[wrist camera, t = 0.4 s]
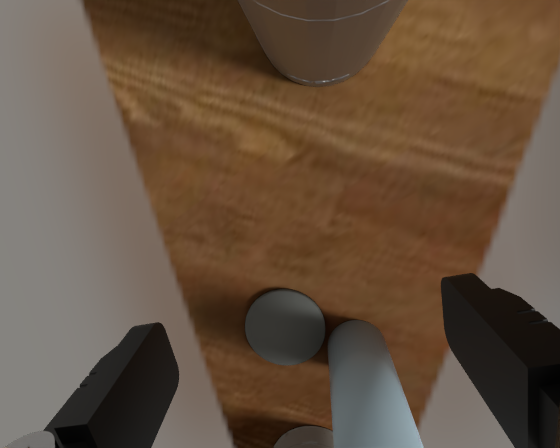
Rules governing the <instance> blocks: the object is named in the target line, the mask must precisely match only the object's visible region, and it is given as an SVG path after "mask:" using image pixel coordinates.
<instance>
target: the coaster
mask: <svg viewBox="0 0 560 448" xmlns="http://www.w3.org/2000/svg"><path fill="white" fill-rule="evenodd" d="M245 333H246V337H247V340H248V342H249V344H250V346H251V347H252V348H253V350H254V351H255V352H256V353H257V354H258V355H259V356H261V357H262V358H264V359H265V360H267V361H269V362H272V363H275V364H279V365H295V364H299V363H302V362H305V361H307V360H308V359H310V358H311V357H313V356H314V355H315V354H316V353H317V352H318V350H319V349H320V347H321V346H322V343H323V341H324V337H325V321H324V317H323V314H322V312H321V310H320V308H319V307H318V305H317V304H316V303H315V302H314V301H313V300H312V299H311V298H310V297H308V296H307V295H305V294H303V293H301V292H299V291H295V290H291V289H276V290H272V291H269V292H267V293H265V294H263V295H261V296H260V297H259V298H257V299H256V300H255V301H254V303H253V304H252V305H251V307H250V309H249V311H248V314H247V316H246V321H245Z"/></svg>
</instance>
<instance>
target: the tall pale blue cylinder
mask: <svg viewBox="0 0 560 448" xmlns="http://www.w3.org/2000/svg"><path fill="white" fill-rule="evenodd" d="M328 360H329V376H330V392H331V408H332V424H333V440H334V448H423V445H422V442H421V439H420V436H419V433H418V431H417V428H416V425H415V422H414V420H413V417H412V414H411V411H410V409H409V406H408V403H407V400H406V397H405V395H404V392H403V389H402V386H401V384H400V381H399V378H398V375H397V373H396V370H395V367H394V364H393V361H392V359H391V356H390V353H389V350H388V348H387V345H386V342H385V339H384V337H383V335H382V333H381V332H380V330H379V329H378V328H377V327H375V326H374V325H372V324H371V323H368V322H366V321H361V320H351V321H347V322H344V323H342V324H340V325H339V326H337V327H336V328H335V329H334V330H333V331H332V333H331V334H330V336H329V339H328Z"/></svg>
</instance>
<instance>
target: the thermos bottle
mask: <svg viewBox="0 0 560 448" xmlns="http://www.w3.org/2000/svg"><path fill="white" fill-rule="evenodd" d="M274 448H334V440H333V431H331V430H329V429H326V428H322V427H317V426H303V427H298V428H295V429H292V430H290V431H288V432H287V433H285V434H284V435H282V436H281V437H280V438H279V440H278V441H277V443H276V444H275V446H274Z"/></svg>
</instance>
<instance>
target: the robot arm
mask: <svg viewBox="0 0 560 448" xmlns="http://www.w3.org/2000/svg"><path fill="white" fill-rule="evenodd" d="M407 1H408V0H238V2H239V4H240V6H241V8H242V10H243V12H244V14H245V16H246V18H247V19H248V21H249V23H250V25H251V27H252V29H253V31H254V33H255V35H256V37H257V39H258V41H259V43H260V45H261V46H262V48H263V50H264V52H265V54H266V55H267V57H268V59H269V60H270V62H271V63H272V65H273V66H274V67H275V68H276V69H277V70H278V71H279V72H280V73H281V74H282V75H284V76H285V77H287V78H289V79H290V80H292V81H294V82H297V83H299V84H302V85H305V86H313V87H322V86H331V85H334V84H337V83H340V82H343V81H345V80H347V79H348V78H350V77H352V76H353V75H355V74H356V73H357V72H359V71H360V70H361V69H362V68H363V67H364V66H365V65H366V64H367V63H368V61H369V60H370V59H371V57H372V56H373V55H374V53H375V52H376V50H377V49H378V47H379V45H380V44H381V42H382V41H383V39H384V38H385V36H386V35H387V33H388V32H389V30H390V28H391V27H392V25H393V24H394V22H395V20H396V19H397V17H398V16H399V14H400V12H401V11H402V9H403V8H404V6H405V4H406V3H407ZM441 293H442V306H443V318H444V329H445V334H446V338H447V341H448V344H449V346H450V348H451V350H452V352H453V353H454V355H455V357H456V358H457V360H458V361H459V363H460V364H461V366H462V367H463V369H464V370H465V372H466V373H467V375H468V376H469V378H470V379H471V381H472V383H473V384H474V386H475V387H476V389H477V390H478V392H479V393H480V395H481V396H482V398H483V399H484V401H485V402H486V404H487V406H488V407H489V409H490V410H491V412H492V413H493V415H494V416H495V418H496V419H497V421H498V422H499V424H500V425H501V427H502V428H503V430H504V432H505V433H506V435H507V436H508V438H509V439H510V441H511V442H512V444H513V445H514V447H515V448H560V329H559V328H557V327H556V326H555V325H554V324H553V323H551V322H548V320H547V319H546V318H545V317H544V316H543V315H541V314H540V313H539V312H538V311H535V309H534V308H533V307H532V306H531V305H529V304H528V303H527V302H526V301H525V300H523V299H522V298H521V297H519V296H517V295H514V294H512V293H510V292H508V291H505V290H503V289H500V288H496V289H491V288H489V287H488V286H487V285H486V284H485V283H484V282H483V281H482V280H481V279H479V278H478V277H477V276H476V275H475V274H473V273H468V274H462V275H456V276H450V277H444V278H442V280H441ZM178 382H179V370H178V365H177V362H176V359H175V356H174V353H173V350H172V348H171V345H170V342H169V339H168V336H167V333H166V330H165V328H164V326H163V325H162V324H161V323H159V322H158V323H151V324H145V325H139V326H134V327H132V328H131V329H130V330H129V332H128V333H127V334H126V336H125V337H124V338H123V340H122V341H121V342H120V344H119V345H118V346H116V347H115V348H114V349H113V350H111V351H110V352H109V353H108V354H106V355H105V356H104V357H103V358H101V359H100V360H99V362H98V363H97V364H96V365H95V367H94V368H93V369H92V370H91V372H90V374H89V376H87V377H86V378H85V379H84V380H83V382H82V383H81V384H80V388H77V389H76V391H75V392H74V393H73V394H72V395H71V397H70V398H69V399H68V400H67V402H66V403H65V404H64V405H63V407H62V408H61V409H60V410H59V412H58V413H57V414H56V415H55V417H54V418H53V419H52V420H51V422H50V423H49V424H48V425H47V427H46V428H45V429H44V430H43V431H38V432H34V433H30V434H28V435H25V436H23V437H21V438H19V439H17V440H15V441H13V442H12V443H10V444H8V445H7V446H5V447H4V448H151V447H152V444H153V442H154V440H155V437H156V435H157V433H158V431H159V428H160V426H161V424H162V422H163V419H164V417H165V415H166V412H167V410H168V408H169V406H170V403H171V401H172V399H173V396H174V394H175V392H176V390H177V387H178Z"/></svg>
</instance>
